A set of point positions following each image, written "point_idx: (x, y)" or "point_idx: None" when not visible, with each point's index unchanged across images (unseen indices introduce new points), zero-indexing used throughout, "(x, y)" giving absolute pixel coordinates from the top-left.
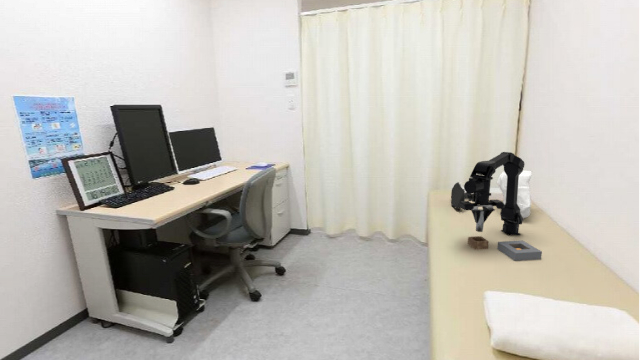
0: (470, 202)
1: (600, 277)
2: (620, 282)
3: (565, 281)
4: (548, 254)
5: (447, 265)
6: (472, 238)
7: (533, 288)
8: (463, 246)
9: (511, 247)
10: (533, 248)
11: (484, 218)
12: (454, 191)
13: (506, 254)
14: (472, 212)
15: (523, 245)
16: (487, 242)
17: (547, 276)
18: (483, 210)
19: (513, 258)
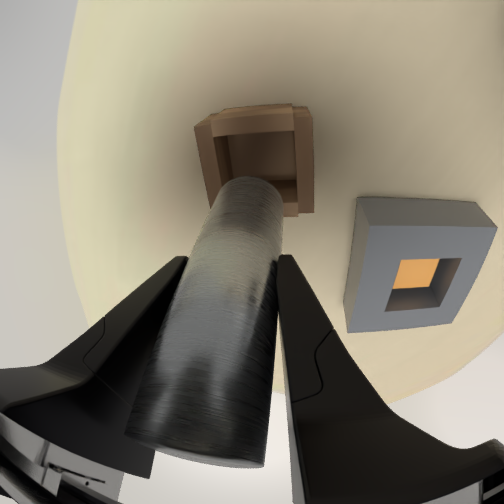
0: (6, 496)
1: (458, 354)
2: (464, 363)
3: (378, 369)
4: (498, 261)
5: (101, 292)
6: (227, 133)
7: (283, 381)
8: (178, 137)
9: (381, 293)
10: (453, 303)
11: (280, 336)
12: None
13: (351, 270)
14: (67, 358)
15: (454, 271)
16: (305, 209)
17: (361, 358)
18: (238, 464)
19: (345, 306)
